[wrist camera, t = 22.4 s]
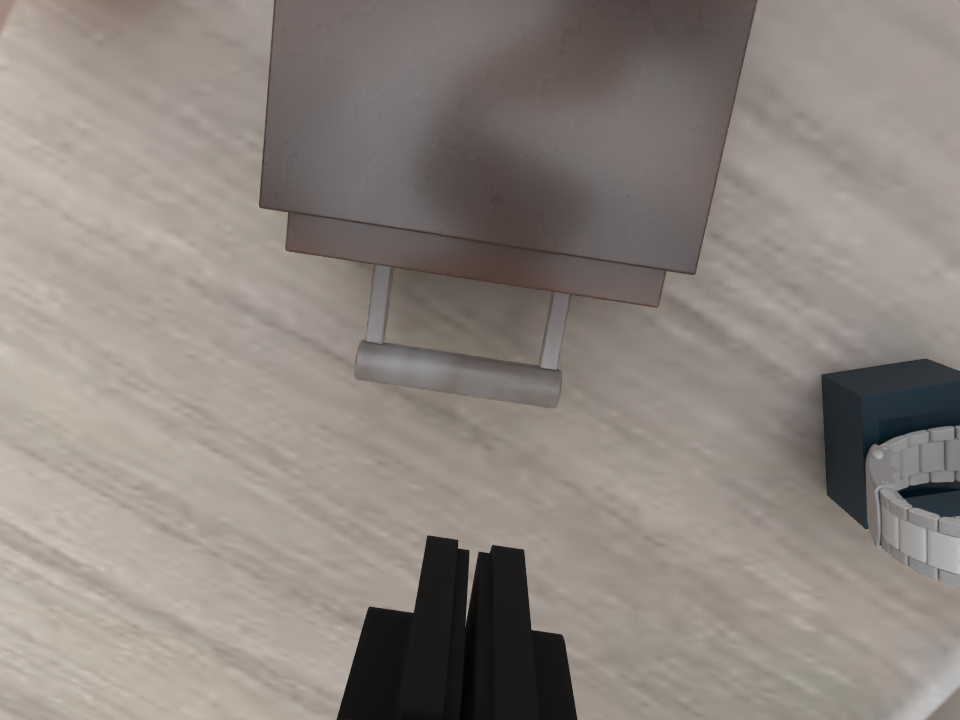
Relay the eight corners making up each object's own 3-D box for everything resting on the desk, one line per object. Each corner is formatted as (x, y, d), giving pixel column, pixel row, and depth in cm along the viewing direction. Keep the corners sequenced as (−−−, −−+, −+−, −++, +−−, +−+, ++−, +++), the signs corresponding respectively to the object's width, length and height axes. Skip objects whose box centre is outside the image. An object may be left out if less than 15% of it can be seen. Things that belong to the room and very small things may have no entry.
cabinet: (635, 251, 28) (695, 275, 20) (322, 203, 27) (258, 207, 20) (719, -163, 24) (832, -331, 17) (364, -225, 24) (305, -428, 16)
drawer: (598, 386, 28) (630, 440, 22) (319, 344, 28) (273, 387, 22) (696, -103, 24) (769, -203, 18) (369, -159, 24) (329, -282, 18)
